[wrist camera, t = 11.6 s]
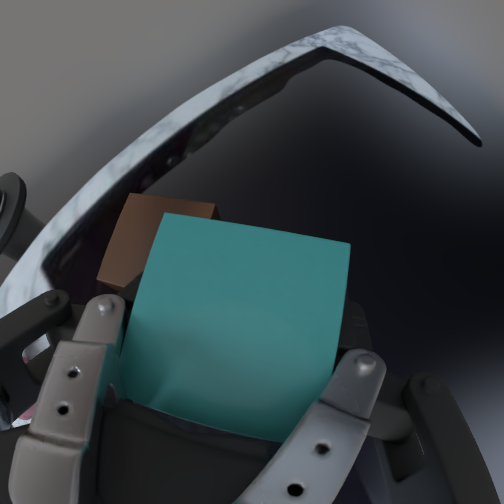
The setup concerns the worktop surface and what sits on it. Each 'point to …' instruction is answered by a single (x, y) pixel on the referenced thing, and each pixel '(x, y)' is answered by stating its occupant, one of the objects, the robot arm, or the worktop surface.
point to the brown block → (142, 234)
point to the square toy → (235, 325)
